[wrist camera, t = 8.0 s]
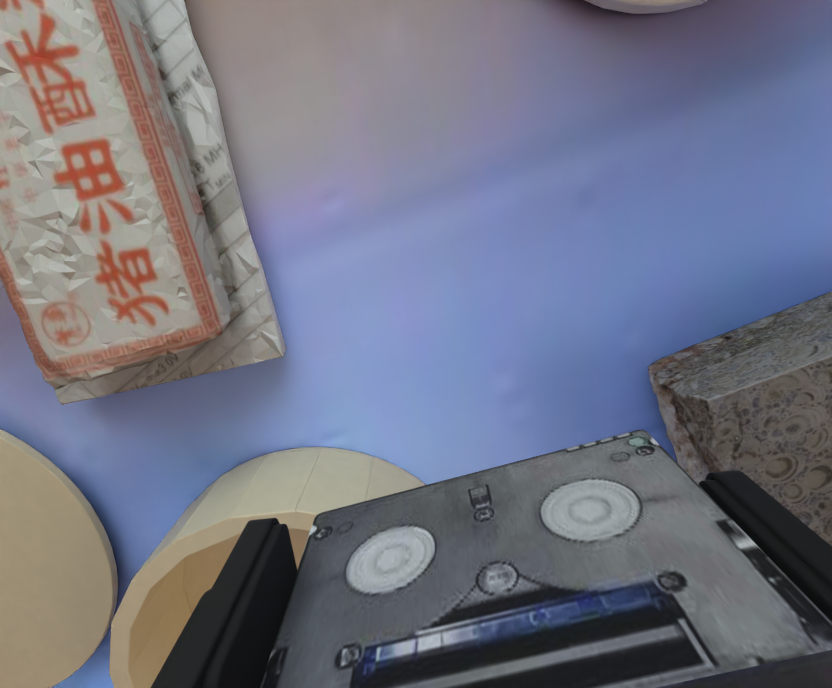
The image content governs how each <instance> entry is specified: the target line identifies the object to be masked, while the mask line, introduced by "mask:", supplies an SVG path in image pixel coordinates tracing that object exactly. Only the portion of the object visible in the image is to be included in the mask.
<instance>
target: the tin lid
mask: <svg viewBox="0 0 832 688" xmlns="http://www.w3.org/2000/svg"><path fill="white" fill-rule="evenodd" d="M117 593H118V577H117V567H116V562H115V558H114V554H113V550H112V546H111V543H110V541H109V538H108V536H107V533H106V531H105V528H104V526H103V524H102V523H101V521H100V519H99V517H98V516H97V514H96V512H95V510H94V509H93V507H92V506H91V504H90V503H89V502H88V500H87V499H86V498H85V496H84V495H83V493H82V492H81V491H80V489H79V488H78V487H77V486H76V485H75V484H74V483H73V482H72V481H71V480H70V479H69V478H68V477H67V476H66V474H65V473H64V472H63V471H61V470H60V469H59V468H58V467H57V466H56V465H54V464H53V463H52V462H51V461H50V460H49V459H48V458H46V457H45V456H44V455H42V454H41V453H39V452H38V451H37V450H35V449H34V448H32V447H31V446H29V445H28V444H27V443H25V442H23V441H22V440H20V439H18V438H16V437H14V436H13V435H11V434H9V433H7V432H5V431H3V430H1V429H0V688H50V687H53V686H55V685H56V684H58V683H60V682H61V681H63V680H65V679H66V678H68V677H69V676H71V675H72V674H73V673H74V672H76V671H77V670H78V669H79V668H81V667H82V666H83V665H84V664H85V662H86V661H87V660H88V659H89V658H90V657H91V656H92V655H93V653H94V652H95V651H96V649H97V648H98V646H99V645H100V643H101V642H102V640H103V639H104V637H105V635H106V634H107V632H108V629H109V627H110V624H111V622H112V620H113V616H114V612H115V608H116V603H117Z"/></svg>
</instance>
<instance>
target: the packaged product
mask: <svg viewBox="0 0 832 688" xmlns="http://www.w3.org/2000/svg"><path fill="white" fill-rule="evenodd" d="M0 279H1V281H2V283H3V286H4V288H5V290H6V293H7V295H8V297H9V299H10V301H11V304H12V306H13V308H14V310H15V311H16V313H17V315H18V316H19V319H20V322H21V326H22V329H23V332H24V335H25V338H26V341H27V344H28V346H29V348H30V350H31V352H32V354H33V357H34V360H35V363H36V365H37V366H38V368H39V369H40V370H41V371H42V374H43V377H44V380H45V381H46V382H48V383H49V384H50V385H52V386H53V387H54V390H55V393H56V396H57V398H58V401H59V402H60V403H61V404H62V405H63V404H68V403H72V402H77V401H82V400H88V399H93V398H98V397H101V396H105V395H109V394H113V393H119V392H125V391H130V390H134V389H139V388H143V387H148V386H152V385H157V384H162V383H166V382H171V381H175V380H180V379H184V378H189V377H193V376H197V375H202V374H206V373H211V372H216V371H222V370H226V369H230V368H235V367H239V366H243V365H248V364H253V363H257V362H261V361H265V360H270V359H275V358H280V357H283V356H284V354H285V351H286V346H285V343H284V340H283V336H282V333H281V329H280V326H279V322H278V319H277V315H276V312H275V308H274V305H273V301H272V298H271V294H270V291H269V287H268V284H267V280H266V277H265V273H264V270H263V267H262V263H261V261H260V258H259V256H258V253H257V251H256V248H255V245H254V243H253V240H252V237H251V234H250V230H249V226H248V222H247V218H246V215H245V211H244V207H243V203H242V200H241V196H240V192H239V188H238V185H237V181H236V177H235V173H234V169H233V166H232V162H231V158H230V154H229V151H228V147H227V143H226V138H225V133H224V127H223V122H222V117H221V112H220V107H219V102H218V97H217V92H216V88H215V86H214V83H213V81H212V79H211V76H210V74H209V72H208V69H207V67H206V65H205V62H204V60H203V57H202V55H201V53H200V50H199V48H198V46H197V43H196V41H195V39H194V36H193V34H192V30H191V26H190V22H189V18H188V14H187V10H186V6H185V2H184V0H0Z"/></svg>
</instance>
